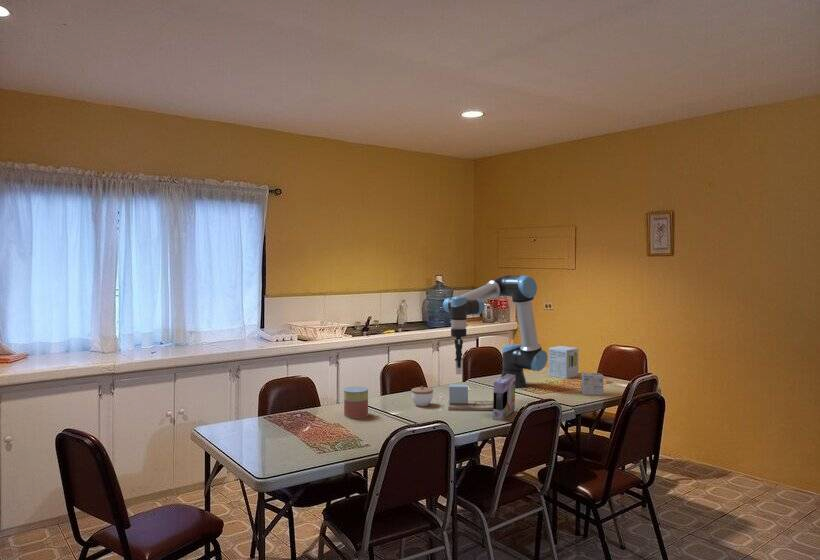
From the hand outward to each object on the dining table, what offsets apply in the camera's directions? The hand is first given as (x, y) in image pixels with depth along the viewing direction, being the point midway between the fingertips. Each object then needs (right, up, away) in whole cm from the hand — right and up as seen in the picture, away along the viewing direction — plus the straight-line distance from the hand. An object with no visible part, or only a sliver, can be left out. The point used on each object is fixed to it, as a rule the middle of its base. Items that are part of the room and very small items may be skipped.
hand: (458, 371), depth 283 cm
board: (+8, -18, 0) cm, 19 cm away
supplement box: (+71, -15, +74) cm, 104 cm away
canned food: (-49, -18, -13) cm, 54 cm away
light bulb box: (+74, -17, +27) cm, 80 cm away
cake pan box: (+20, -18, -15) cm, 31 cm away
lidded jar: (-18, -18, +5) cm, 26 cm away
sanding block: (0, -16, +1) cm, 16 cm away
